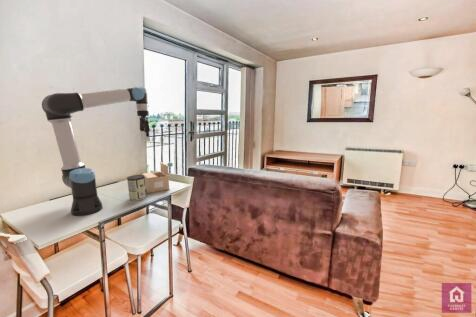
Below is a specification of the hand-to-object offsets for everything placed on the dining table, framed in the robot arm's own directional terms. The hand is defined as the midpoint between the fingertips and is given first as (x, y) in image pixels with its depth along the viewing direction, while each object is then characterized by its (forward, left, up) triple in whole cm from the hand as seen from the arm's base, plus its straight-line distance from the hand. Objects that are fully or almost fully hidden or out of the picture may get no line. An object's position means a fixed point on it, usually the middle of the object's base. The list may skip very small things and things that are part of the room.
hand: (145, 140), depth 171 cm
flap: (+10, -5, -20) cm, 23 cm away
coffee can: (-12, -19, -35) cm, 42 cm away
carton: (+3, -5, -35) cm, 35 cm away
